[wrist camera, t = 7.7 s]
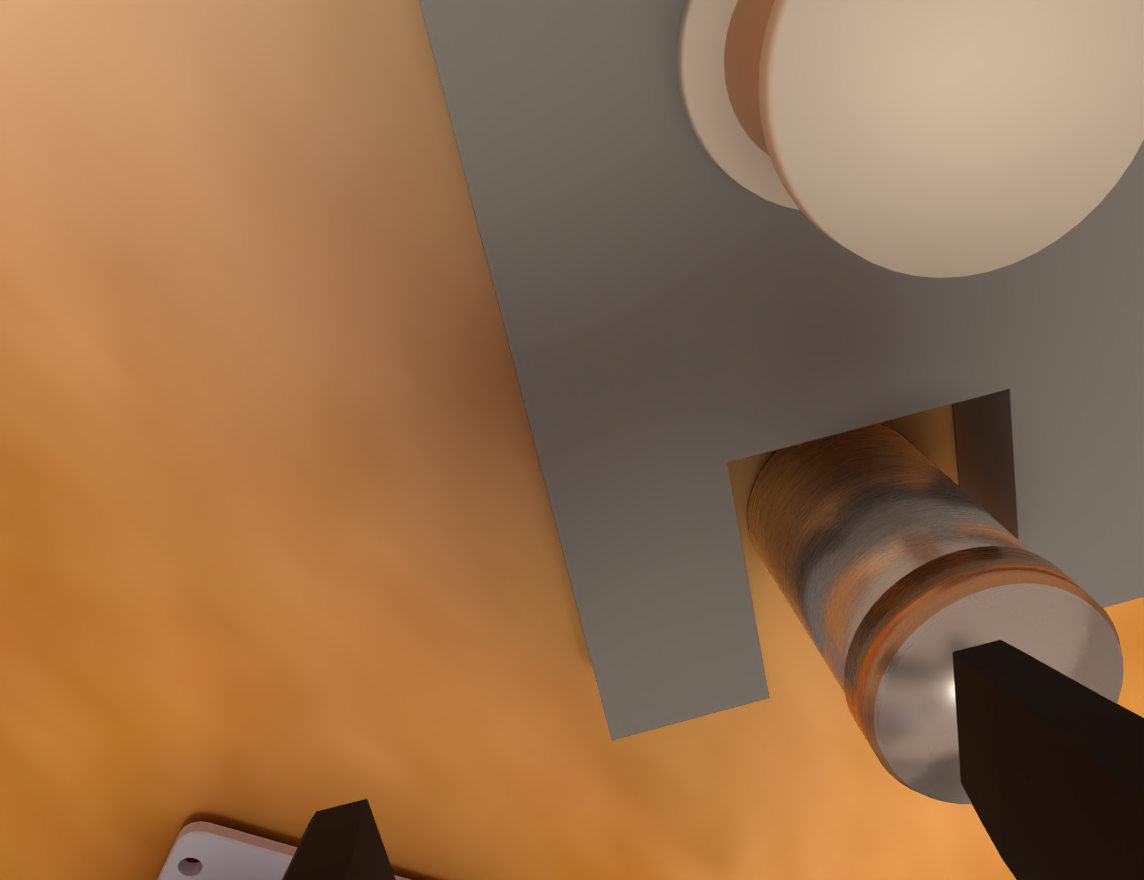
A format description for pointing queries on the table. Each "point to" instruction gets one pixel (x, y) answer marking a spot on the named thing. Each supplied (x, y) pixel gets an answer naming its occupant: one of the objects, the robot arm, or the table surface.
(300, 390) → the table surface
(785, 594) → the peg
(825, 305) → the notched board
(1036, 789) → the robot arm
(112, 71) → the table surface
